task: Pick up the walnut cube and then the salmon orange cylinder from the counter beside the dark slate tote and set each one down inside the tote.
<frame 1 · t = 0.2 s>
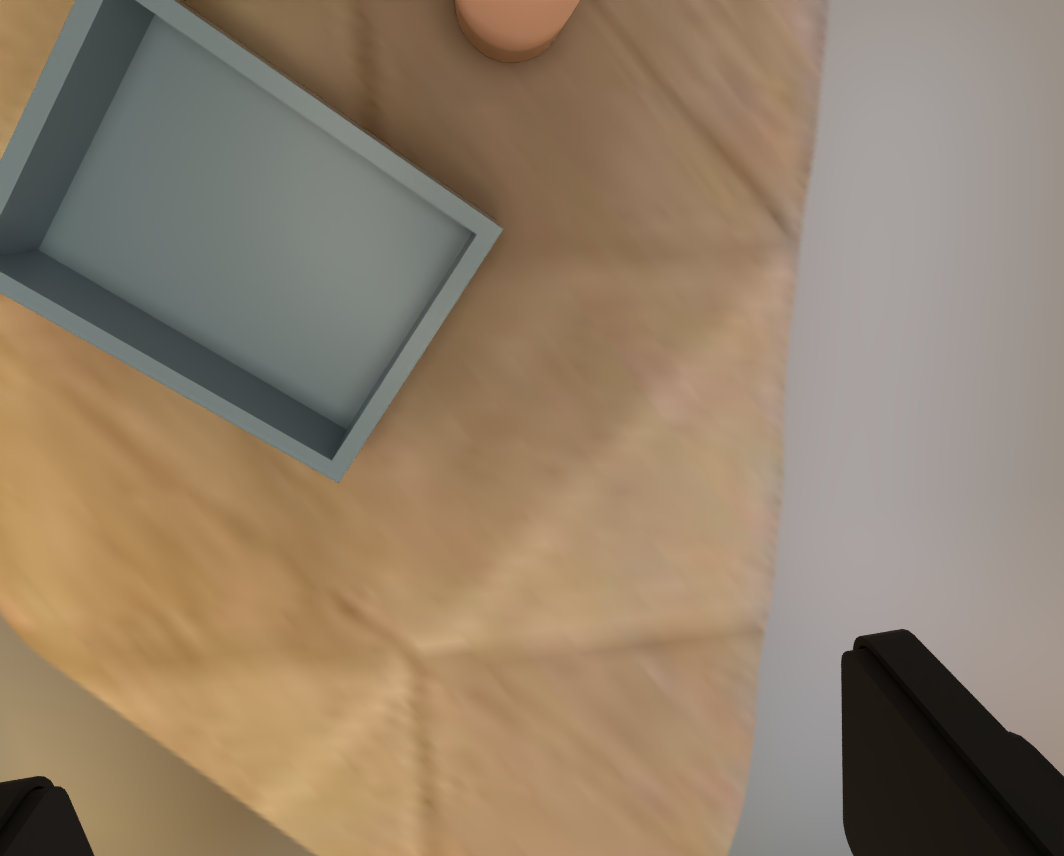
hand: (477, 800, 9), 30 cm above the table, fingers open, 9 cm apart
tote: (264, 237, 36), on the table
salmon orange cylinder: (511, 0, 34), on the table
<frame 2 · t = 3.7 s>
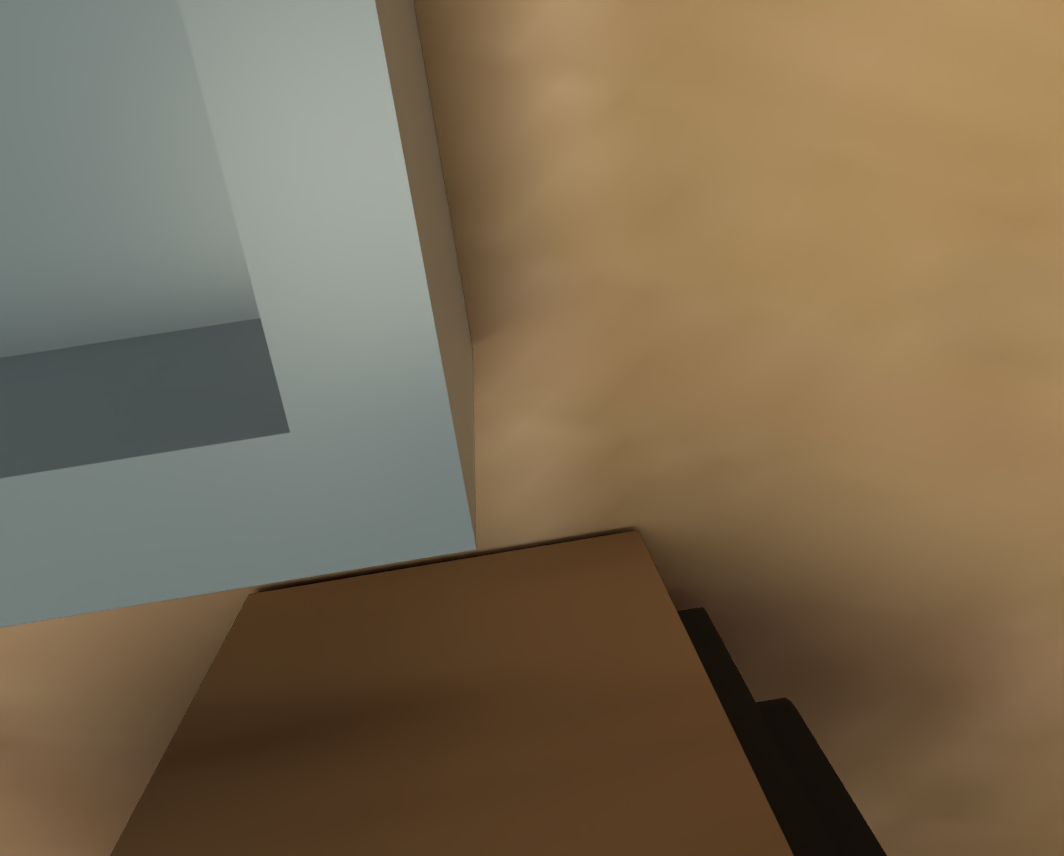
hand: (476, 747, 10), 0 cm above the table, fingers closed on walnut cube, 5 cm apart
walnut cube: (477, 721, 10), on the table, touching gripper
when the fingers open (4 cm above the table, at t = 9.5 s): walnut cube drops 3 cm, resting on tote.
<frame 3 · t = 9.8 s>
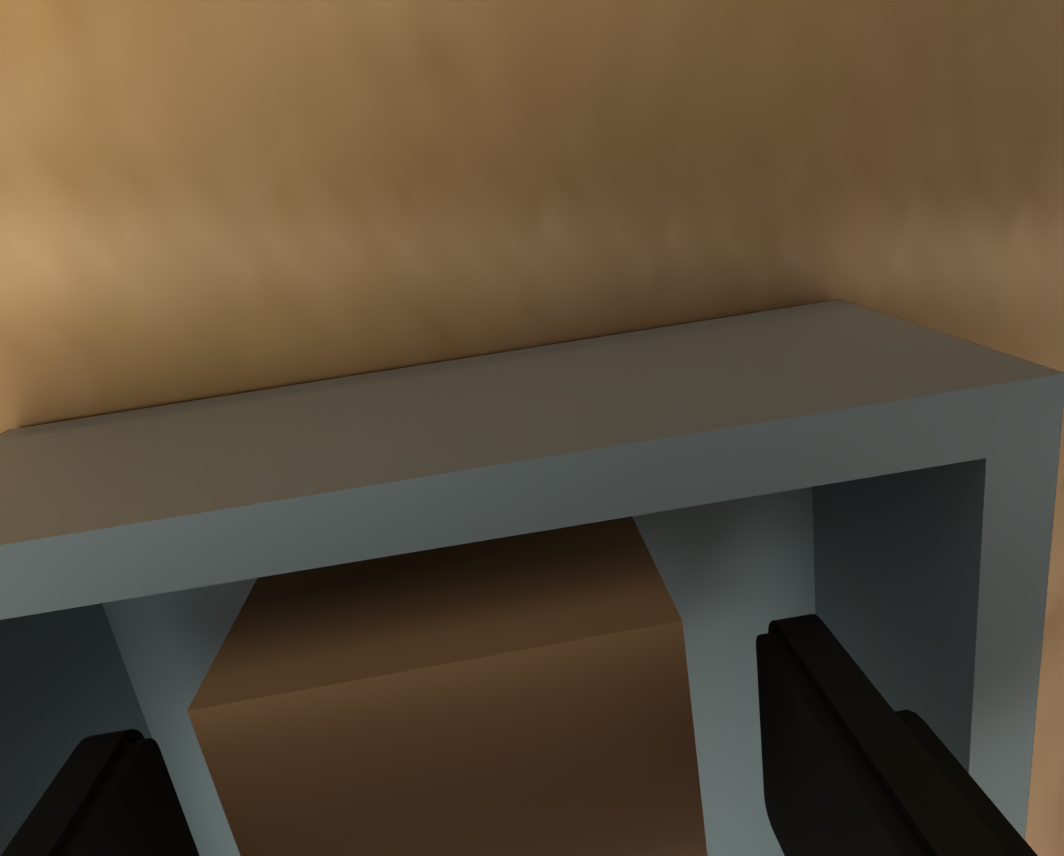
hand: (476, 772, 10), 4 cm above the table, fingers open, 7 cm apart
walnut cube: (476, 610, 13), point 1 cm above the table, touching tote
tote: (511, 789, 15), on the table
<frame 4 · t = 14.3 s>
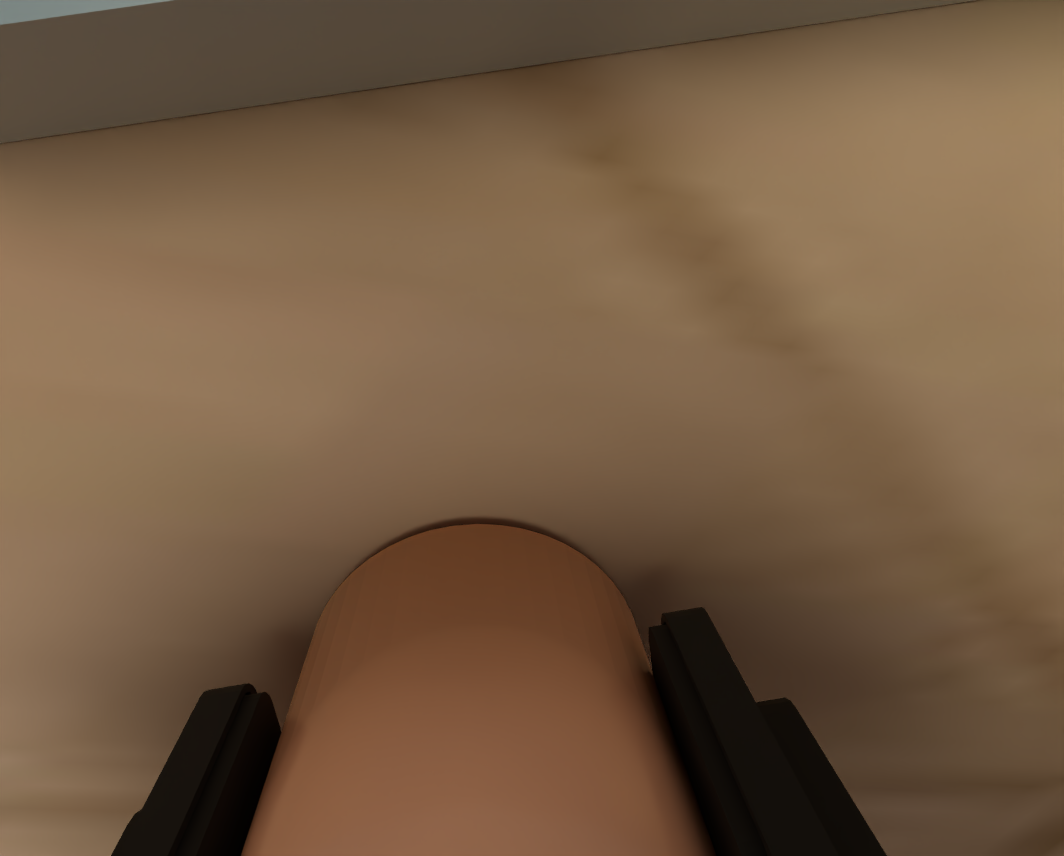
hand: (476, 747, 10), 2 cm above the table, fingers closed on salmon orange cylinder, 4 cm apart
salmon orange cylinder: (477, 672, 11), on the table, touching gripper
when the fingers open (5 cm above the table, at t = 20.0 s): salmon orange cylinder drops 2 cm, resting on tote.
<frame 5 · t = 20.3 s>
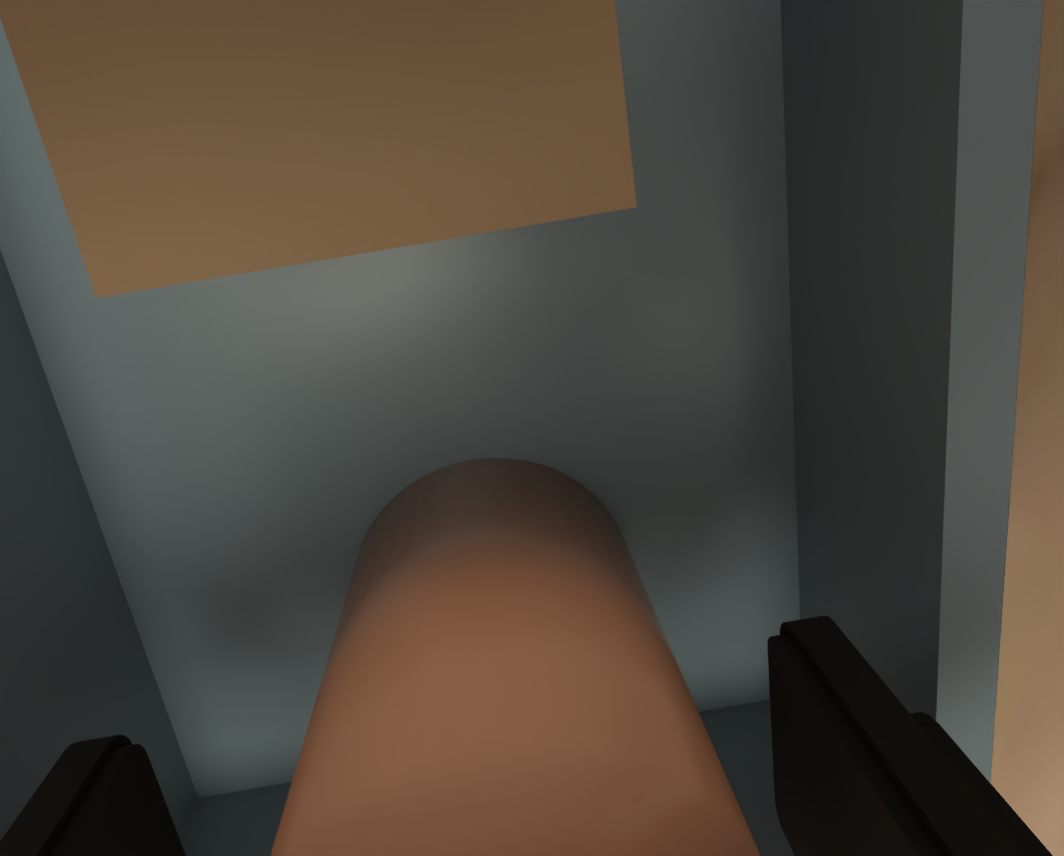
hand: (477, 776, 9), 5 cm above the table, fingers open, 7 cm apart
walnut cube: (373, 44, 11), point 1 cm above the table, touching tote
tote: (430, 342, 13), on the table
salmon orange cylinder: (494, 587, 14), point 1 cm above the table, touching tote
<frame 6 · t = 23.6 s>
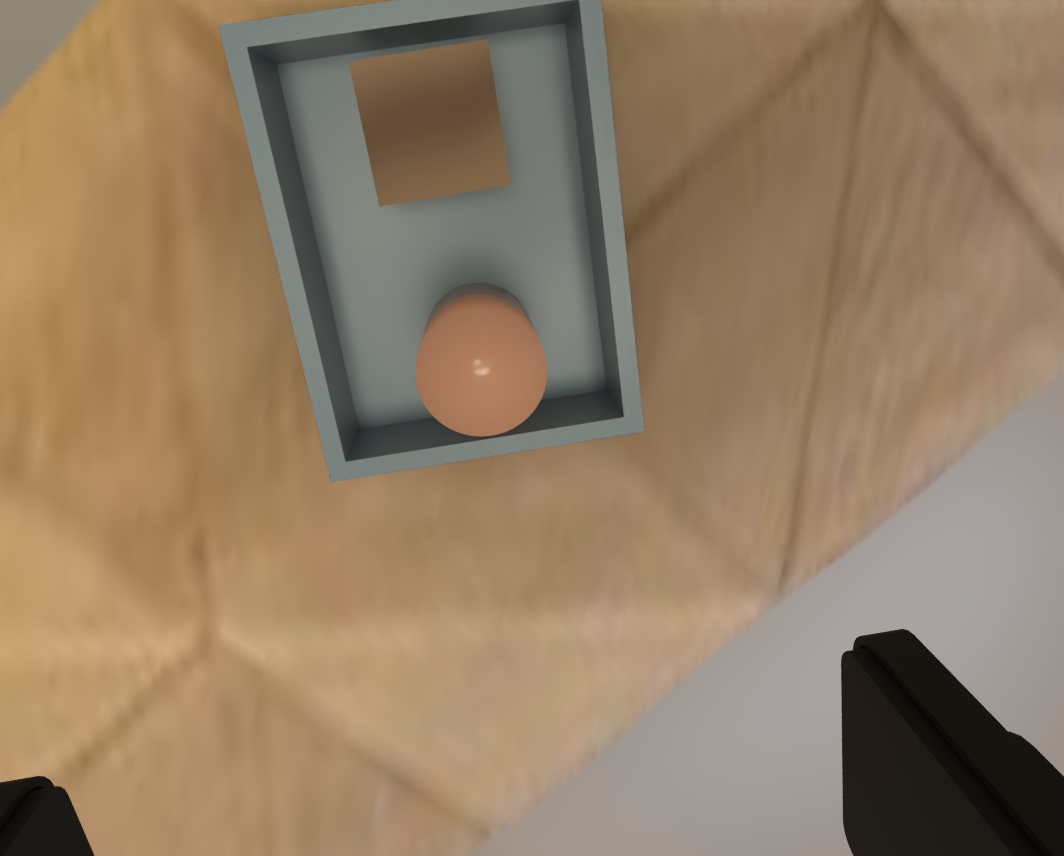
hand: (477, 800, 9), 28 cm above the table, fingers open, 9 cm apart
walnut cube: (437, 132, 32), point 1 cm above the table, touching tote
tote: (455, 239, 34), on the table
salmon orange cylinder: (479, 337, 35), point 1 cm above the table, touching tote
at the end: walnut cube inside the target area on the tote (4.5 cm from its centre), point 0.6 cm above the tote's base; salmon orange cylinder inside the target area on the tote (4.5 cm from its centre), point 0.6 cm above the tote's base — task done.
